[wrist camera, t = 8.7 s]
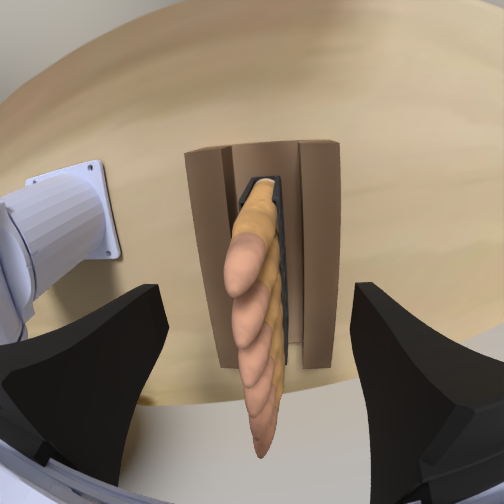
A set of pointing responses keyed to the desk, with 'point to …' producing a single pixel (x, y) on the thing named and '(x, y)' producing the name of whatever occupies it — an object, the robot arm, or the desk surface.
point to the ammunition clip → (260, 303)
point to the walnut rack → (296, 234)
